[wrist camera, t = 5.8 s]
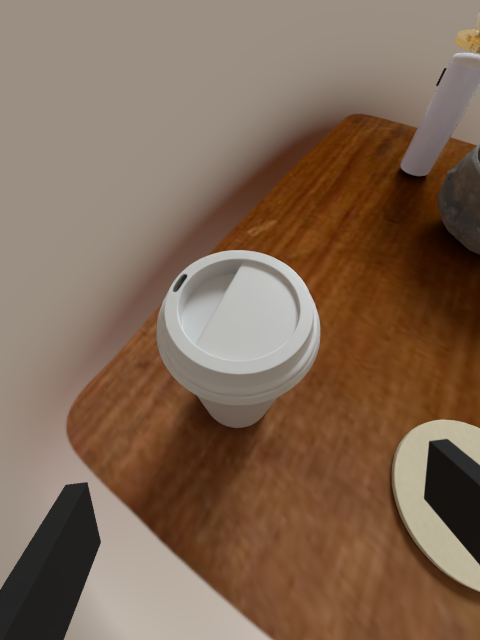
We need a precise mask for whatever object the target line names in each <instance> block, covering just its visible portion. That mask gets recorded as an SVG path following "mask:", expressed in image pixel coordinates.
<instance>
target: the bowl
mask: <svg viewBox="0 0 480 640" xmlns="http://www.w3.org/2000/svg"><path fill="white" fill-rule="evenodd" d="M438 208H439V212H440V215H441V218H442V221H443V223H444V225H445V227H446V229H447V230H448V231H449V233H450V234H451V235H453V236H454V237H455V238H456V239H457V240H458V241H459V242H460V243H461V244H462V245H463V246H465V247H466V248H467V249H469V250H470V251H472V252H474V253H477V254H479V255H480V144H479V145H478V146H476V147H475V148H474V149H473V150H472V151H471V152H470V153H468V154H467V155H466V156H465V157H464V158H463V159H462V160H461V161H460V162H459V163H458V164H457V165H456V166H455V167H454V168H453V169H451V170H449V171H448V172H447V178H446V179H445V181H444V183H443V185H442V187H441V189H440V192H439V196H438Z"/></svg>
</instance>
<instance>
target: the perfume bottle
mask: <svg viewBox="0 0 480 640" xmlns="http://www.w3.org/2000/svg"><path fill="white" fill-rule="evenodd" d="M455 43H456V44H457V45H458V46H460V47H461V48H464V49H466V50H469V51H473V52H477V53H480V11H479V13H478V15H477V19H476V29H470V30H463V31H460V32H459V33H458V34H457V36H456V38H455ZM436 86H438V87H437V89H436V91H435V94H434V96H433V98H432V100H431V102H430V104H429V106H428V108H427V110H426V112H425V114H424V116H423V118H422V121H421V122H420V125H419V126H418V129H417V131H416V133H415V135H414V137H413V139H412V141H411V143H410V145H409V147H408V149H407V151H406V153H405V155H404V157H403V159H402V161H401V164H400V166H401V168H402V170H403V171H405V172H406V173H408V174H411V175H415V176H425V175H427V174H429V173H430V171H431V169H432V167H433V166H434V164H435V162H436V161H437V159H438V157H439V156H440V154H441V152H442V150H443V149H444V147H445V145H446V144H447V142H448V140H449V139H450V137H451V135H452V133H453V131H454V130H455V128H456V127H457V125H458V123H459V121H460V120H461V118H462V116H463V114H464V113H465V111H466V110H467V108H468V106H469V104H470V103H471V101H472V99H473V98H474V96H475V94H476V93H477V91H478V89H479V87H480V55H478V54H472V53H458V54H455V55H453V57H452V59H451V61H450V63H449V65H448V67H447V68H444V70H443V72H442V74H441V77H440V79H439V81H438V83H437V85H436Z"/></svg>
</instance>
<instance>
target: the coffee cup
mask: <svg viewBox="0 0 480 640" xmlns="http://www.w3.org/2000/svg"><path fill="white" fill-rule="evenodd" d="M157 344H158V349H159V352H160V355H161V358H162V360H163V362H164V364H165V366H166V368H167V369H168V371H169V372H170V373H171V375H172V376H173V377H174V378H175V379H176V380H177V381H178V382H179V383H180V384H181V385H182V386H183V387H185V388H186V389H187V390H189V391H190V392H192V393H194V394H195V395H197V396H198V398H199V399H200V401H201V402H202V403H203V405H204V406H205V408H206V409H207V411H208V412H209V414H210V415H211V416H212V417H213V418H214V419H215V420H216V421H217V422H219V423H221V424H223V425H225V426H228V427H232V428H243V427H247V426H250V425H252V424H254V423H256V422H257V421H259V420H260V419H261V418H262V417H263V416H264V415H265V413H266V412H267V411H268V409H269V408H270V407H271V405H272V404H273V403H274V401H275V400H276V399H277V397H278V396H280V395H282V394H284V393H285V392H287V391H289V390H290V389H291V388H293V387H294V386H295V385H296V384H298V383H299V382H300V381H301V380H302V379H303V377H304V376H305V375H306V374H307V372H308V371H309V370H310V368H311V366H312V365H313V363H314V361H315V358H316V356H317V352H318V349H319V344H320V322H319V316H318V312H317V309H316V306H315V304H314V301H313V299H312V297H311V295H310V293H309V291H308V289H307V287H306V285H305V283H304V282H303V281H302V279H301V278H300V277H299V276H298V274H297V273H296V272H295V271H293V270H292V269H291V268H290V267H289V266H287V265H286V264H284V263H283V262H281V261H279V260H277V259H275V258H273V257H271V256H268V255H265V254H262V253H258V252H253V251H244V250H233V251H224V252H219V253H215V254H212V255H209V256H206V257H204V258H201V259H200V260H198V261H196V262H194V263H193V264H191V265H190V266H188V267H187V268H186V269H185V270H184V271H182V272H181V273H180V275H179V276H178V277H177V278H176V279H175V281H174V282H173V284H172V285H171V288H170V289H169V292H168V293H167V295H166V297H165V299H164V301H163V303H162V306H161V309H160V312H159V316H158V321H157Z"/></svg>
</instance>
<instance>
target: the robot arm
mask: <svg viewBox="0 0 480 640" xmlns="http://www.w3.org/2000/svg"><path fill="white" fill-rule="evenodd" d="M424 500H425V501H426V502H427V503H428V504H429V506H430V507H431V508H432V509H433V510H434V512H435V513H436V514H437V515H438V516H439V517H440V519H441V520H442V521H443V522H444V523H445V525H446V526H447V527H448V528H449V529H450V531H451V532H452V533H453V534H454V535H455V536H456V538H457V539H458V540H459V541H460V542H461V544H462V545H463V546H464V547H465V548H466V550H467V551H468V552H469V553H470V554H471V555H472V557H473V558H474V559H475V560H476V561H477V563H478V564H479V565H480V465H479V464H478V463H477V462H475V461H474V460H473V459H472V458H471V457H469V456H468V455H467V454H466V453H464V452H463V451H462V450H461V449H459V448H458V447H457V446H456V445H455V444H453V443H452V442H451V441H450V440H448V439H441V440H433V441H429V447H428V458H427V469H426V480H425V491H424ZM100 543H101V541H100V536H99V532H98V527H97V523H96V519H95V514H94V510H93V505H92V501H91V496H90V492H89V488H88V483H87V482H86V483H78V484H70V485H65V487H64V488H63V490H62V492H61V493H60V495H59V497H58V498H57V500H56V501H55V503H54V504H53V506H52V508H51V509H50V511H49V513H48V514H47V516H46V517H45V519H44V520H43V522H42V524H41V525H40V527H39V529H38V530H37V532H36V533H35V535H34V537H33V538H32V540H31V541H30V543H29V545H28V546H27V548H26V549H25V551H24V553H23V554H22V556H21V558H20V559H19V561H18V562H17V564H16V565H15V567H14V569H13V570H12V572H11V573H10V575H9V577H8V578H7V580H6V582H5V583H4V585H3V586H2V588H1V590H0V640H64V637H65V635H66V632H67V630H68V627H69V624H70V621H71V619H72V616H73V614H74V611H75V608H76V606H77V603H78V601H79V598H80V595H81V593H82V590H83V588H84V585H85V582H86V580H87V577H88V575H89V572H90V569H91V567H92V564H93V561H94V559H95V556H96V554H97V551H98V548H99V546H100Z"/></svg>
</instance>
